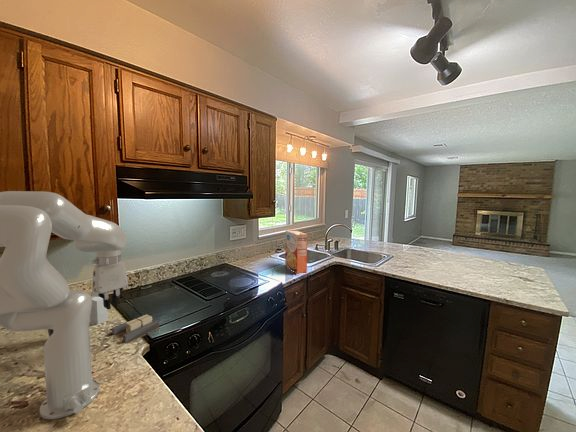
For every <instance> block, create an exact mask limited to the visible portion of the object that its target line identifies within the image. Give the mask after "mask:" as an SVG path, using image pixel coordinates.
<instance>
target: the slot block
mask: <svg viewBox="0 0 576 432" xmlns="http://www.w3.org/2000/svg"><path fill="white" fill-rule="evenodd" d="M144 315H145V314H143V315H141V316H139V317H136V318H133V319H130V320H129V321H126V322H123V323H121V324H119V325H116V326H114V327H112V328H111V334H112V335H113V336H115V337H116V338H118V339H119V340H121V341H122V342H124V343H125V344H127V345H128V344H130V343H132V342H134V341H136V340H138V339H140V338H142V337H144V336H148V334H146V333H147V332H150V333H153V332H155V331H157V330H159V329H161V327H160V323H159V321H158V320H154V321H152V322H151V323H149V324H147V325H145V326H142V327H140V328H138V329H135V330H133V331H131V332H128V333H127V332H126V323H127V322H130V321H132V320H135V319H137V320H138V318H140V317H142V316H144ZM150 333H149V334H150Z"/></svg>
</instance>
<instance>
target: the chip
mask: <svg viewBox="0 0 576 432" xmlns="http://www.w3.org/2000/svg"><path fill="white" fill-rule="evenodd" d="M134 319H135V320H133V319H131V320H132V321H131V320H129V321H130V322H128V321H126V322H127V323H126V322H125V323H126V332H127V333H128V332H131V331H133V330H135V329H138V328H140V327H141V321H139V320H137V319H136V318H134Z"/></svg>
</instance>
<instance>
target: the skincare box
mask: <svg viewBox="0 0 576 432" xmlns="http://www.w3.org/2000/svg"><path fill="white" fill-rule="evenodd" d="M91 298H92V308H91V314H90V322H89V325H91V326H94V325H100V324H102V323H105V322H107V321H109V319H108V317H109V316H108V309H107V308H105V307H104V304H103V298H101V297H93V296H92V297H91Z"/></svg>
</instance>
